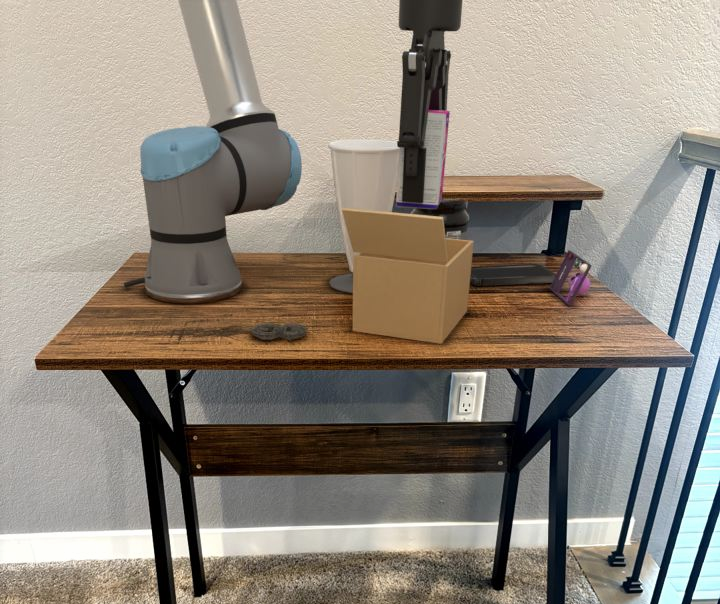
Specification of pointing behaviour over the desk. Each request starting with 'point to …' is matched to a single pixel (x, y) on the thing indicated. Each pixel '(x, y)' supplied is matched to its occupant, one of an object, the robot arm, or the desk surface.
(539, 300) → the desk surface
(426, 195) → the supplement box
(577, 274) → the purple monster toy box
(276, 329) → the corroded twin loop
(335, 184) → the cup
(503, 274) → the phone
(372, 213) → the flap
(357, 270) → the carton
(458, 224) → the supplement container
